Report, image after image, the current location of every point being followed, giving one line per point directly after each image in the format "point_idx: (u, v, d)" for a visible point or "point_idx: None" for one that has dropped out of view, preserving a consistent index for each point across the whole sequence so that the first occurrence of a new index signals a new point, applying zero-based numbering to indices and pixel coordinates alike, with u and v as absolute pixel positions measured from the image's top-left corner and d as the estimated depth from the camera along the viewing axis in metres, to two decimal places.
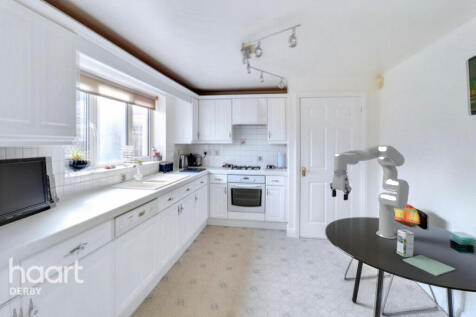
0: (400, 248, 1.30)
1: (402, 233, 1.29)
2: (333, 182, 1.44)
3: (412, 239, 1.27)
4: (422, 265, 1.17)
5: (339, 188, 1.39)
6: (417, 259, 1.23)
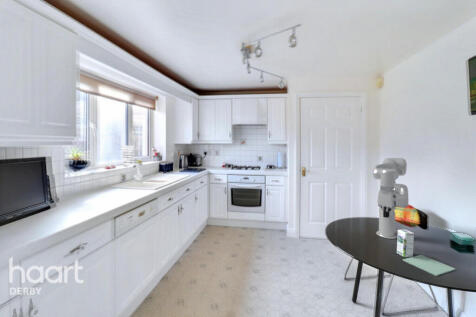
0: (400, 248, 1.30)
1: (402, 233, 1.29)
2: (379, 198, 1.42)
3: (412, 239, 1.27)
4: (422, 265, 1.17)
5: (386, 205, 1.38)
6: (417, 259, 1.23)
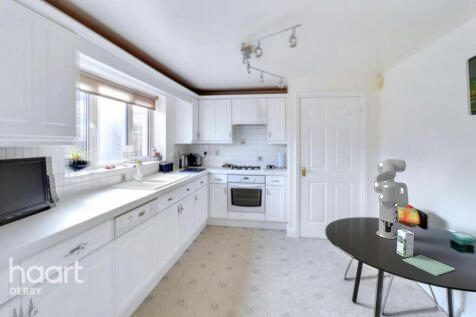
0: (400, 248, 1.30)
1: (402, 233, 1.29)
2: (380, 213, 1.41)
3: (412, 239, 1.27)
4: (422, 265, 1.17)
5: (388, 220, 1.37)
6: (417, 259, 1.23)
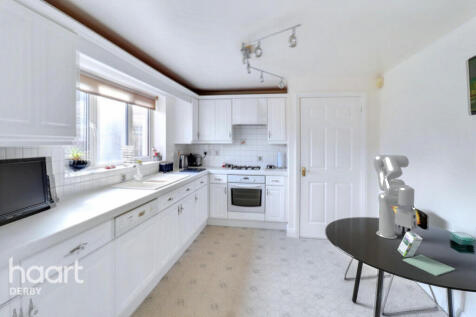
0: (402, 248, 1.28)
1: (410, 237, 1.23)
2: (396, 217, 1.32)
3: (418, 243, 1.23)
4: (422, 265, 1.17)
5: (405, 225, 1.27)
6: (417, 259, 1.23)
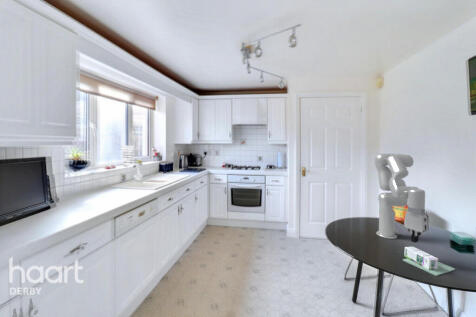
0: (410, 254, 1.23)
1: (427, 265, 1.14)
2: (406, 221, 1.27)
3: None
4: None
5: (415, 229, 1.22)
6: None
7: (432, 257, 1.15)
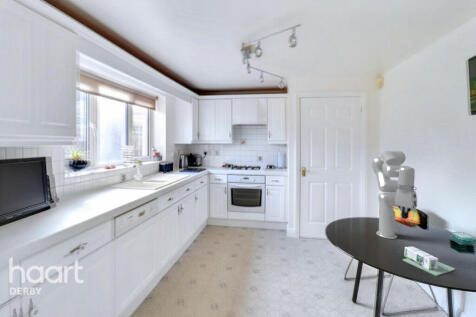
0: (410, 254, 1.23)
1: (427, 265, 1.14)
2: (397, 198, 1.32)
3: None
4: None
5: (405, 205, 1.27)
6: None
7: (432, 257, 1.15)
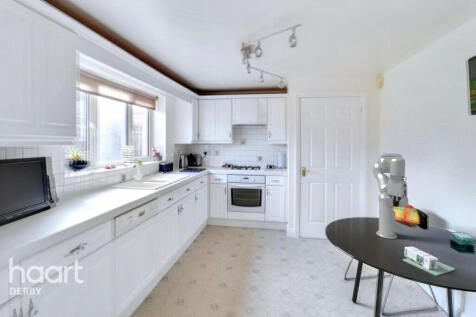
0: (410, 254, 1.23)
1: (427, 265, 1.14)
2: (388, 188, 1.39)
3: None
4: None
5: (396, 194, 1.35)
6: None
7: (432, 257, 1.15)
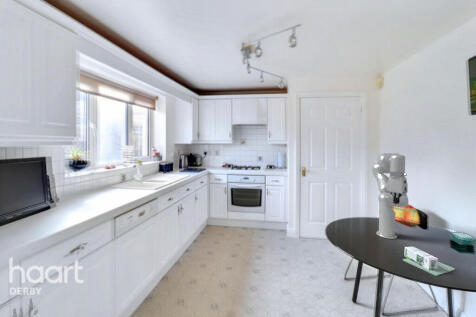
0: (410, 254, 1.23)
1: (427, 265, 1.14)
2: (389, 185, 1.39)
3: None
4: None
5: (397, 191, 1.35)
6: None
7: (432, 257, 1.15)
